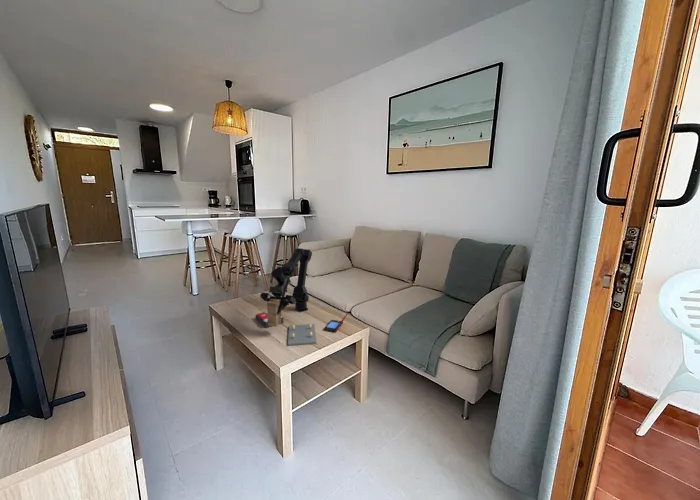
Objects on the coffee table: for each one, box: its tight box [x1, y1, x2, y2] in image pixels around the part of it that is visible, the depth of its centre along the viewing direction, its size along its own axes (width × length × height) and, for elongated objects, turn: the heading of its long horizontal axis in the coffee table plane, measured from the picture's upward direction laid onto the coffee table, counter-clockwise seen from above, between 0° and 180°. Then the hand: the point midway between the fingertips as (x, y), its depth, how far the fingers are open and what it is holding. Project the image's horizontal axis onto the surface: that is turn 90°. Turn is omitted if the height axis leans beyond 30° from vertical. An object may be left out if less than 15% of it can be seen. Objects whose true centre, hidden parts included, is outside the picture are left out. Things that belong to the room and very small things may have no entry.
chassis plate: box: [287, 323, 317, 347], centre depth 153 cm, size 20×14×4 cm
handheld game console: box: [323, 312, 349, 334], centre depth 162 cm, size 12×11×7 cm
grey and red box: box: [255, 310, 284, 329], centre depth 170 cm, size 11×4×15 cm
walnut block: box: [266, 299, 282, 328], centre depth 152 cm, size 5×5×13 cm
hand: (272, 313), depth 151 cm, fingers closed on walnut block, 5 cm apart
